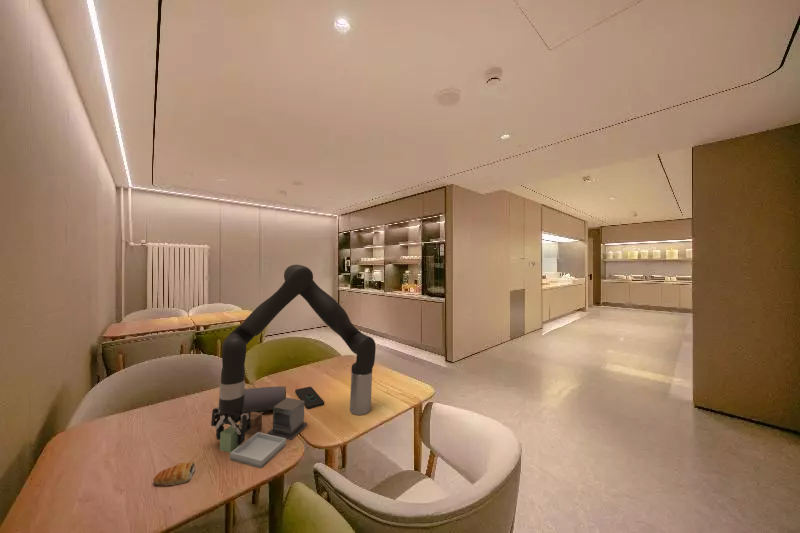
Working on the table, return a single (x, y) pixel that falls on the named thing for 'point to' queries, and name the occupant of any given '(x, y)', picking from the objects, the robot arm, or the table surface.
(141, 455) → the table surface
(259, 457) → the tray
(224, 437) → the green block
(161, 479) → the pastry
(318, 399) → the smart home device
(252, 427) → the walnut block
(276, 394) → the bluetooth speaker
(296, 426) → the housing
